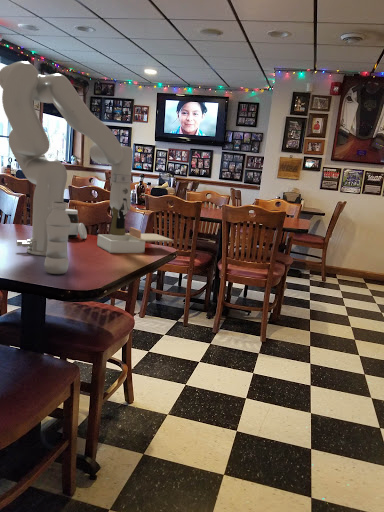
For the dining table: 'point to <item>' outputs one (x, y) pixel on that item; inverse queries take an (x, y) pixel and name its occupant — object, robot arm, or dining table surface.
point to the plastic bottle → (57, 239)
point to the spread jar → (75, 225)
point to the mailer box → (120, 244)
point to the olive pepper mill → (113, 226)
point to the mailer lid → (145, 236)
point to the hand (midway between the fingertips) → (117, 227)
